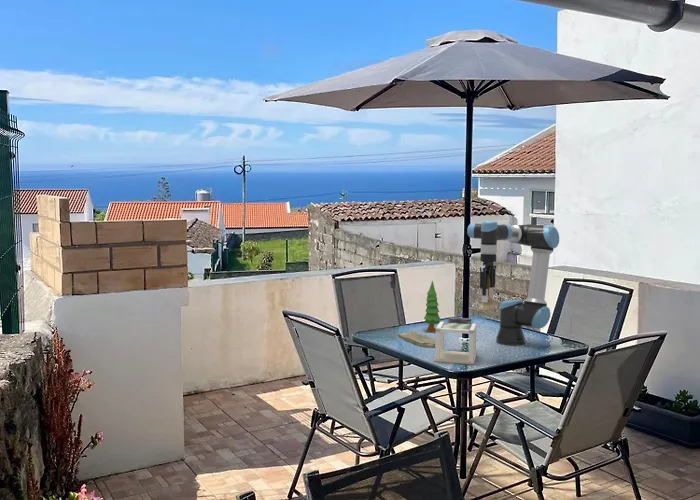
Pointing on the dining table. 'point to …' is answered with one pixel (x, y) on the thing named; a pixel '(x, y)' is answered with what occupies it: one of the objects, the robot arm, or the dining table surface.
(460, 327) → the trapdoor
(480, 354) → the dining table surface
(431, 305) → the decorative tree
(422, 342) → the stone slab
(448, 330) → the frame
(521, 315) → the robot arm
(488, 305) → the hand bell
